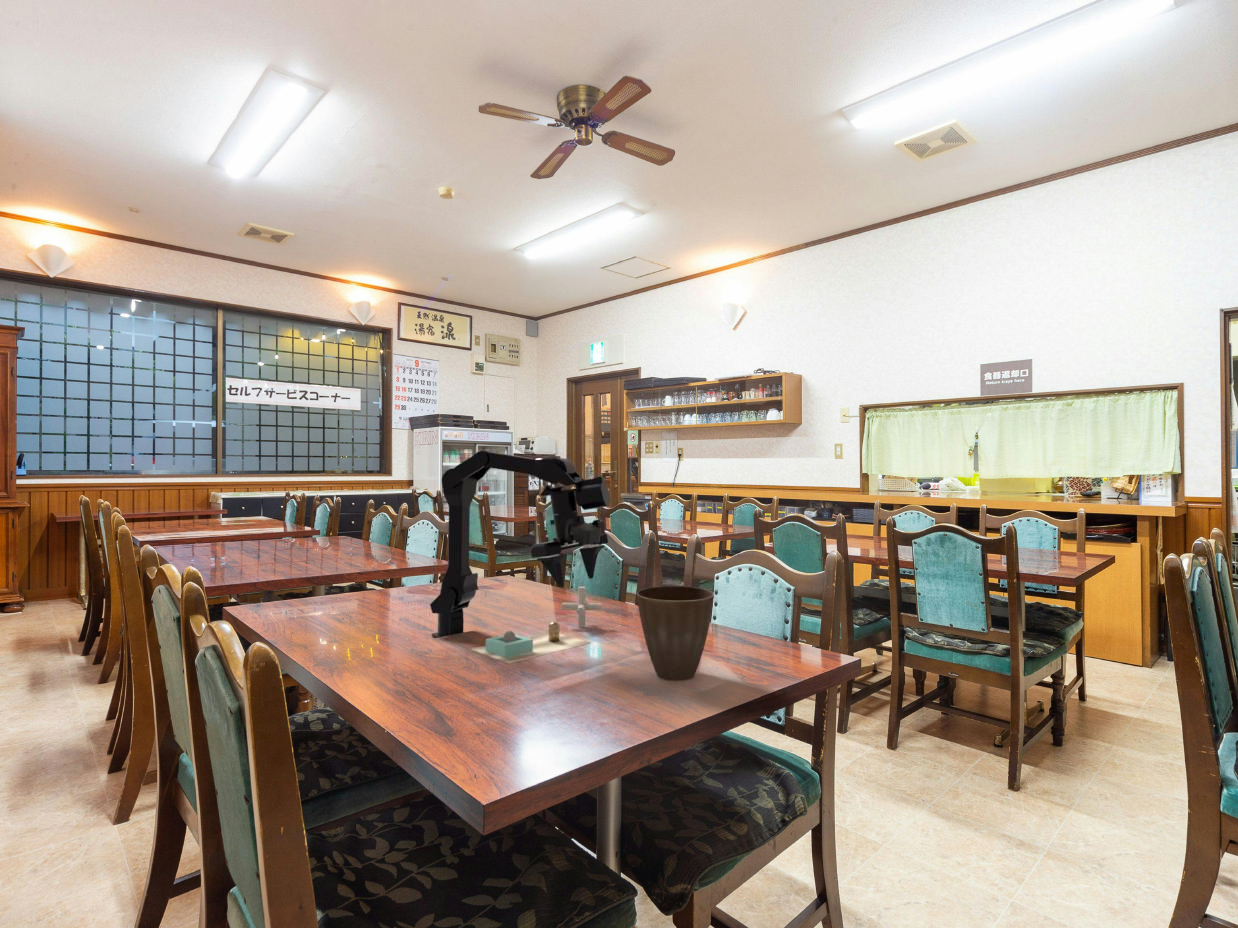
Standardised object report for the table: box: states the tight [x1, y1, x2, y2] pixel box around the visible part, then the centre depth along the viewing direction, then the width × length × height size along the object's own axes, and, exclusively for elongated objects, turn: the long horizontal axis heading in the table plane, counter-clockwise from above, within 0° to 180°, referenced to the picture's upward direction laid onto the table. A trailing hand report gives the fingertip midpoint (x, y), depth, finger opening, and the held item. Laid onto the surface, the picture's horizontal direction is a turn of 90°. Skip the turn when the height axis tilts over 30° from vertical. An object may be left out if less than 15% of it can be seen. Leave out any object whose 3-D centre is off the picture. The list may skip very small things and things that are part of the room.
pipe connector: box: [561, 586, 603, 628], centre depth 163 cm, size 10×10×10 cm
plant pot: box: [636, 585, 715, 682], centre depth 125 cm, size 15×15×16 cm
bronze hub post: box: [548, 621, 560, 642], centre depth 144 cm, size 2×2×4 cm
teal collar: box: [485, 633, 533, 658], centre depth 135 cm, size 7×7×2 cm
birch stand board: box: [471, 630, 592, 664], centre depth 139 cm, size 14×22×6 cm, turn 135°
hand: (576, 582), depth 143 cm, fingers open, 9 cm apart
